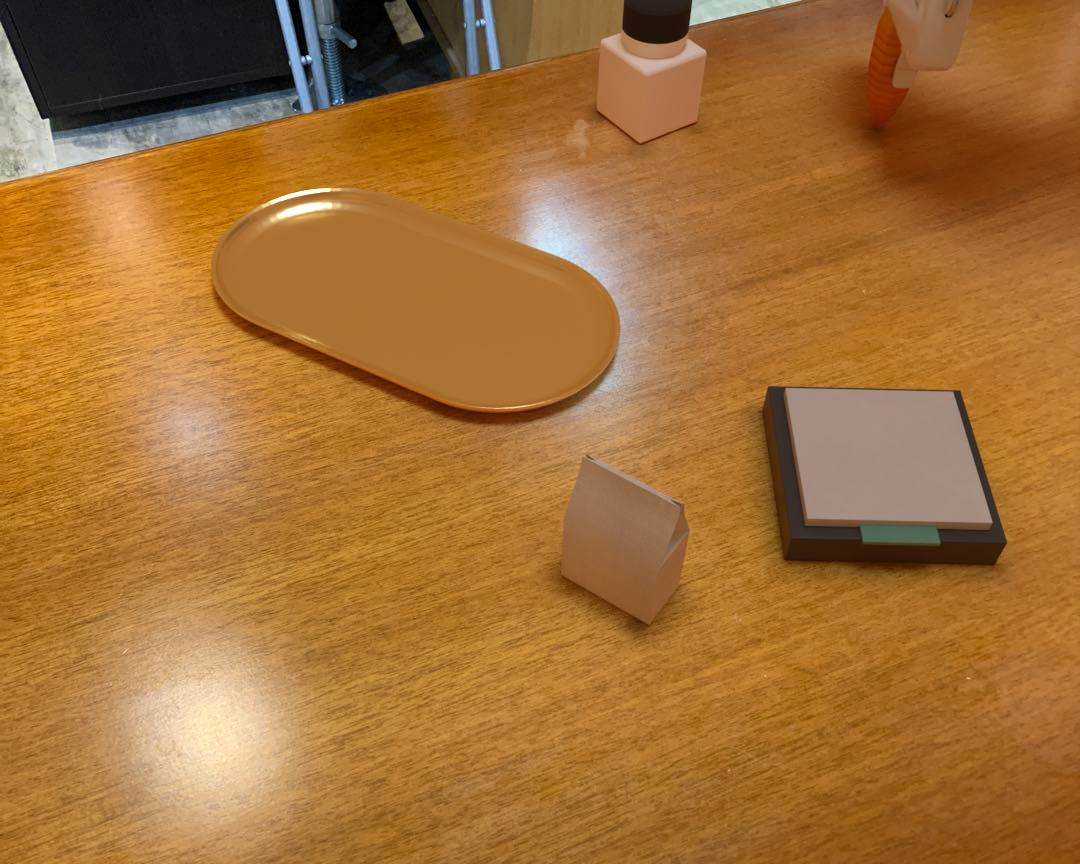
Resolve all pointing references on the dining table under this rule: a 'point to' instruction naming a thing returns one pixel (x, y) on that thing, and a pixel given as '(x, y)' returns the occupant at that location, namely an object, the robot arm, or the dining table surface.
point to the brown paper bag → (623, 540)
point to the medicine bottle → (651, 70)
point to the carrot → (883, 73)
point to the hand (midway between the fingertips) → (893, 65)
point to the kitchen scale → (879, 476)
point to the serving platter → (418, 298)
